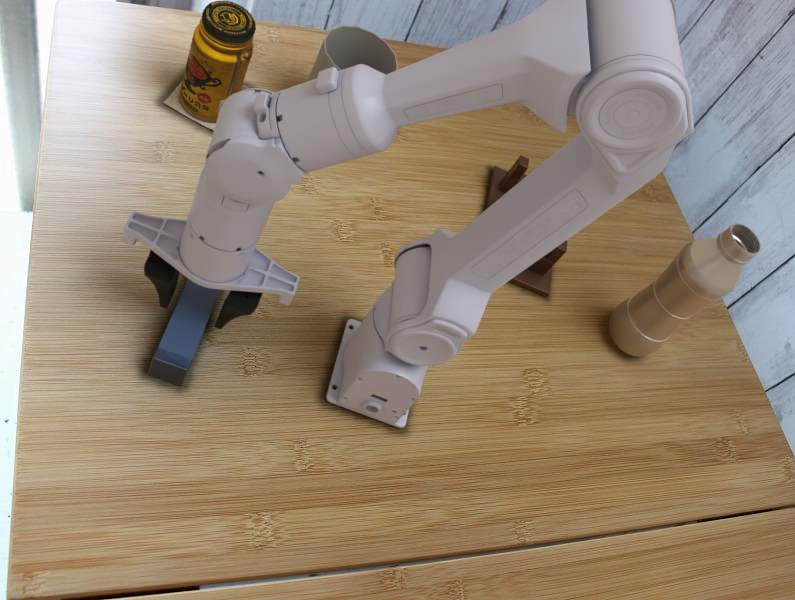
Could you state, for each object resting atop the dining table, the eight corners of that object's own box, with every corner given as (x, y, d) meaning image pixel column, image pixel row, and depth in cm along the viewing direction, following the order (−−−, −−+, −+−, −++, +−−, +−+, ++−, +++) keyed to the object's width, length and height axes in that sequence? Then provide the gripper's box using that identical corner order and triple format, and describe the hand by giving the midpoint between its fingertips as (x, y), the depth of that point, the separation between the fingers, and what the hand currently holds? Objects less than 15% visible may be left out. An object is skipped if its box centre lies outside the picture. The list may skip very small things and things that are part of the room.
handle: (181, 387, 72) (188, 370, 70) (147, 374, 72) (152, 357, 69) (230, 265, 81) (238, 247, 78) (200, 253, 80) (206, 234, 78)
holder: (546, 297, 95) (573, 270, 90) (475, 268, 93) (500, 238, 88) (556, 198, 104) (581, 168, 100) (492, 169, 103) (514, 138, 98)
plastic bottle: (614, 365, 93) (737, 268, 78) (592, 313, 96) (707, 209, 81) (657, 362, 96) (784, 268, 81) (635, 311, 99) (753, 211, 84)
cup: (370, 106, 100) (401, 43, 92) (362, 154, 95) (394, 93, 88) (303, 81, 98) (329, 15, 90) (291, 129, 93) (318, 64, 86)
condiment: (162, 104, 88) (182, 16, 79) (199, 61, 93) (222, -26, 84) (224, 138, 89) (250, 55, 80) (257, 93, 94) (286, 11, 85)
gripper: (324, 220, 69) (281, 303, 79) (154, 149, 66) (132, 246, 76) (303, 286, 64) (260, 365, 75) (120, 213, 61) (102, 306, 72)
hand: (194, 309), depth 75 cm, fingers open, 4 cm apart
